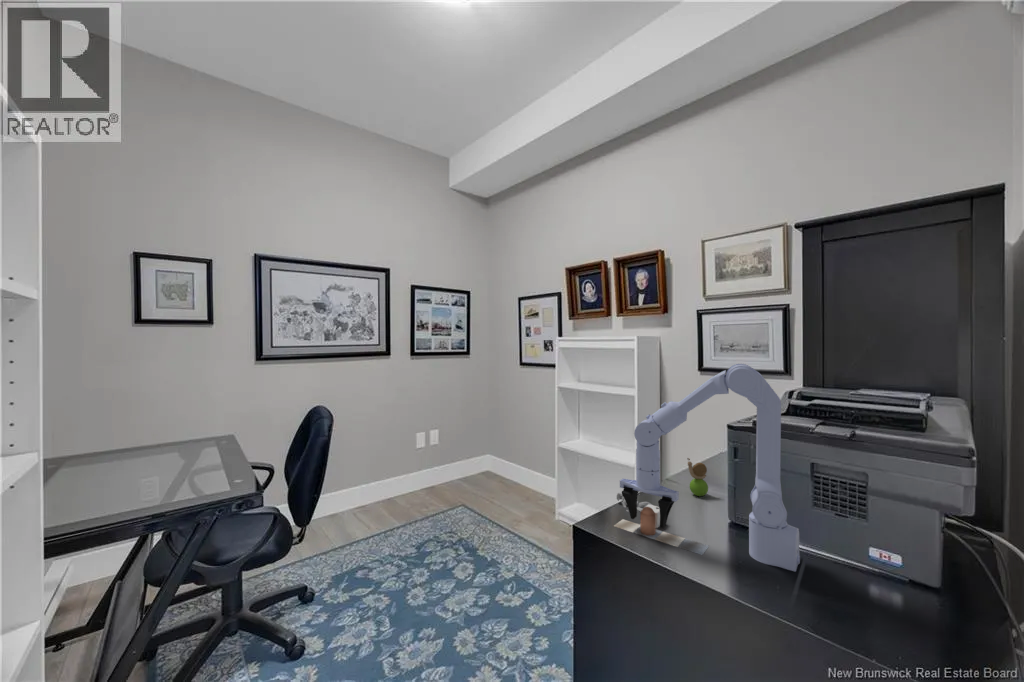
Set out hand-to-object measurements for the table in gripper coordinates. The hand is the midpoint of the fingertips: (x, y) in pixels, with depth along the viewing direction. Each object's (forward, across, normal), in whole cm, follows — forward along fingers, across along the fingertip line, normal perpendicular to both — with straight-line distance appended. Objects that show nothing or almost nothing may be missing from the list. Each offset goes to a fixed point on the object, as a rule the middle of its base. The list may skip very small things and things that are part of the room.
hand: (648, 522), depth 103 cm
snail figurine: (+4, -1, -36) cm, 36 cm away
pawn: (+2, 0, 0) cm, 3 cm away
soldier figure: (+4, +8, -12) cm, 15 cm away
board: (+3, -3, -2) cm, 5 cm away
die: (+3, +1, -6) cm, 6 cm away
